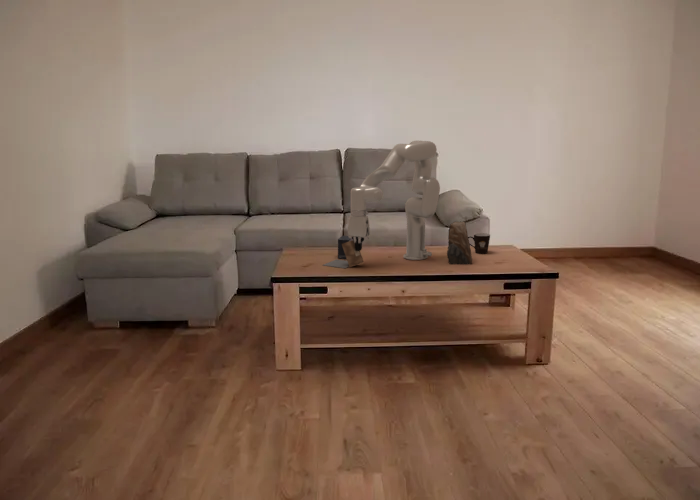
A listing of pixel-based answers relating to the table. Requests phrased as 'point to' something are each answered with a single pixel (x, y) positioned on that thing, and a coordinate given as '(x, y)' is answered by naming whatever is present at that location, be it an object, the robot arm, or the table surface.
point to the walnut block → (352, 254)
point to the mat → (337, 264)
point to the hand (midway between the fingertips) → (358, 250)
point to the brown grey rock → (458, 244)
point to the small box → (340, 249)
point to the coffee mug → (481, 242)
